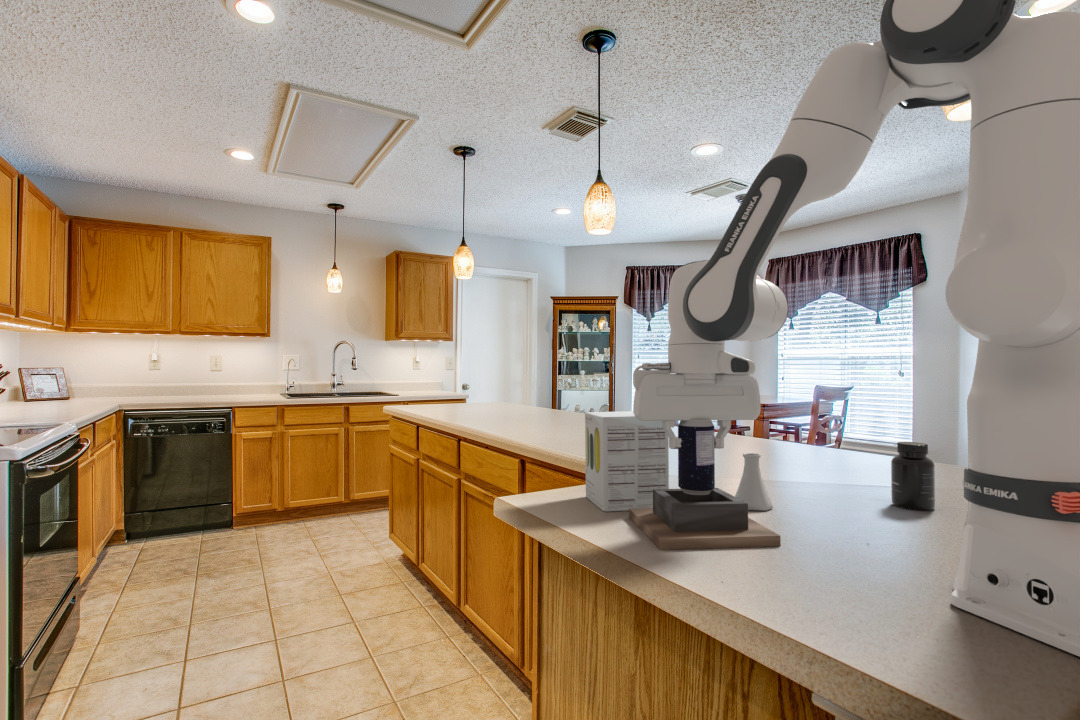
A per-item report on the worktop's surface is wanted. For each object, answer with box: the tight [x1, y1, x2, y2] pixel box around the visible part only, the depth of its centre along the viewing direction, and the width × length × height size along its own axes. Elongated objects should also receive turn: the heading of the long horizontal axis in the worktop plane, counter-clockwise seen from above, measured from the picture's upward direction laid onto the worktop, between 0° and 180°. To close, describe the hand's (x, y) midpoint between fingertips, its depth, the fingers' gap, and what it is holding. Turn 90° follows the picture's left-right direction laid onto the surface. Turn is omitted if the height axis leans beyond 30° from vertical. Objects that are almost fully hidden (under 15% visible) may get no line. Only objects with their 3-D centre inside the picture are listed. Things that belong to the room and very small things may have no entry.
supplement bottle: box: [890, 441, 936, 512], centre depth 104 cm, size 7×7×12 cm
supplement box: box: [584, 410, 670, 512], centre depth 108 cm, size 13×13×18 cm
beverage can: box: [677, 419, 716, 495], centre depth 89 cm, size 6×6×12 cm
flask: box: [734, 452, 774, 511], centre depth 104 cm, size 7×7×10 cm
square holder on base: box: [628, 487, 782, 551], centre depth 89 cm, size 18×18×6 cm
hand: (696, 448), depth 89 cm, fingers closed on beverage can, 6 cm apart
